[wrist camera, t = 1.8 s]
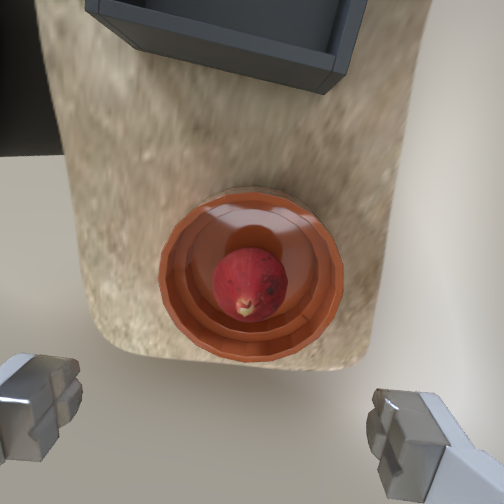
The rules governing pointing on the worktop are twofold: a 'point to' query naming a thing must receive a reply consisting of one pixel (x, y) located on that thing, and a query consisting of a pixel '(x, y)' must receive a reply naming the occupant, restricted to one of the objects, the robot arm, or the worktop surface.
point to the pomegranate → (250, 284)
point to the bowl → (265, 237)
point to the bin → (244, 35)
